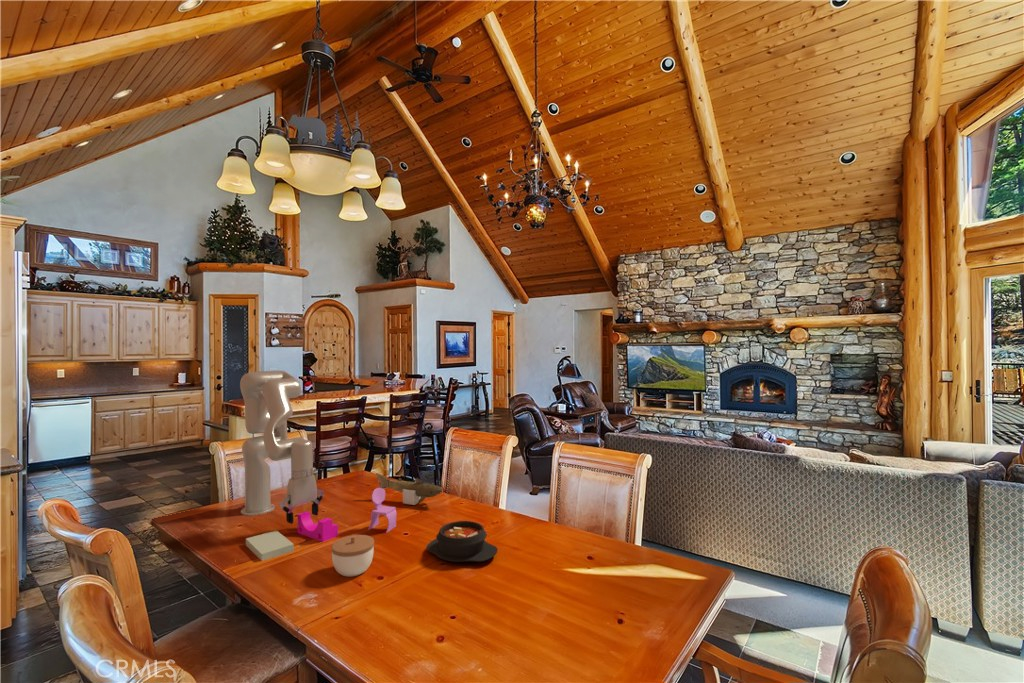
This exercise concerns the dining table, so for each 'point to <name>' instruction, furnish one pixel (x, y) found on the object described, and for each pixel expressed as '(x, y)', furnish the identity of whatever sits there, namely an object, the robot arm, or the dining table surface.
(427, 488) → the wood carving
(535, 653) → the dining table surface
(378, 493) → the toy chair
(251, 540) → the base slab
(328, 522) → the toy block
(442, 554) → the casserole
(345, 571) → the lidded bowl
